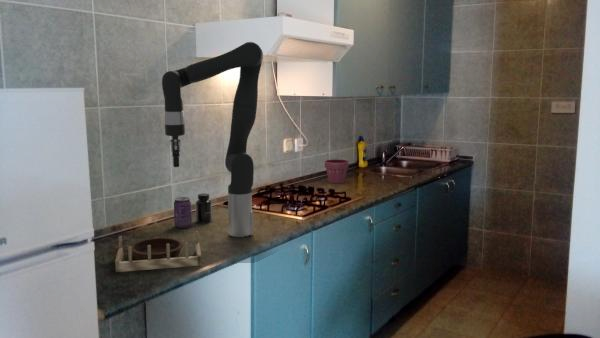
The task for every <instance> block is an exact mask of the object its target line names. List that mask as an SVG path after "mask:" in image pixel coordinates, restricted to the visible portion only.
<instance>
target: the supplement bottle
mask: <svg viewBox="0 0 600 338" xmlns="http://www.w3.org/2000/svg"><path fill="white" fill-rule="evenodd" d="M197 199H198V200H196V202H195V221H196V223H199V224H207V223H211V222H212V221H213V220H212V219H213V213H212V212H213V211H212V209H213V208H212V207H213V204H212V201H211V199H210V194H209V193H206V192H205V193H198V194H197Z"/></svg>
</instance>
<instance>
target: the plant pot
mask: <svg viewBox="0 0 600 338" xmlns="http://www.w3.org/2000/svg"><path fill="white" fill-rule="evenodd" d="M349 163H350V162H349V160H347V159H338V158H337V159H326V160H324V168H325V169H326V174H327V175H326V176H327V179H328V183H330V184H343V183H345V180H346V175H347V171H348V168H349V166H350V165H349Z"/></svg>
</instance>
